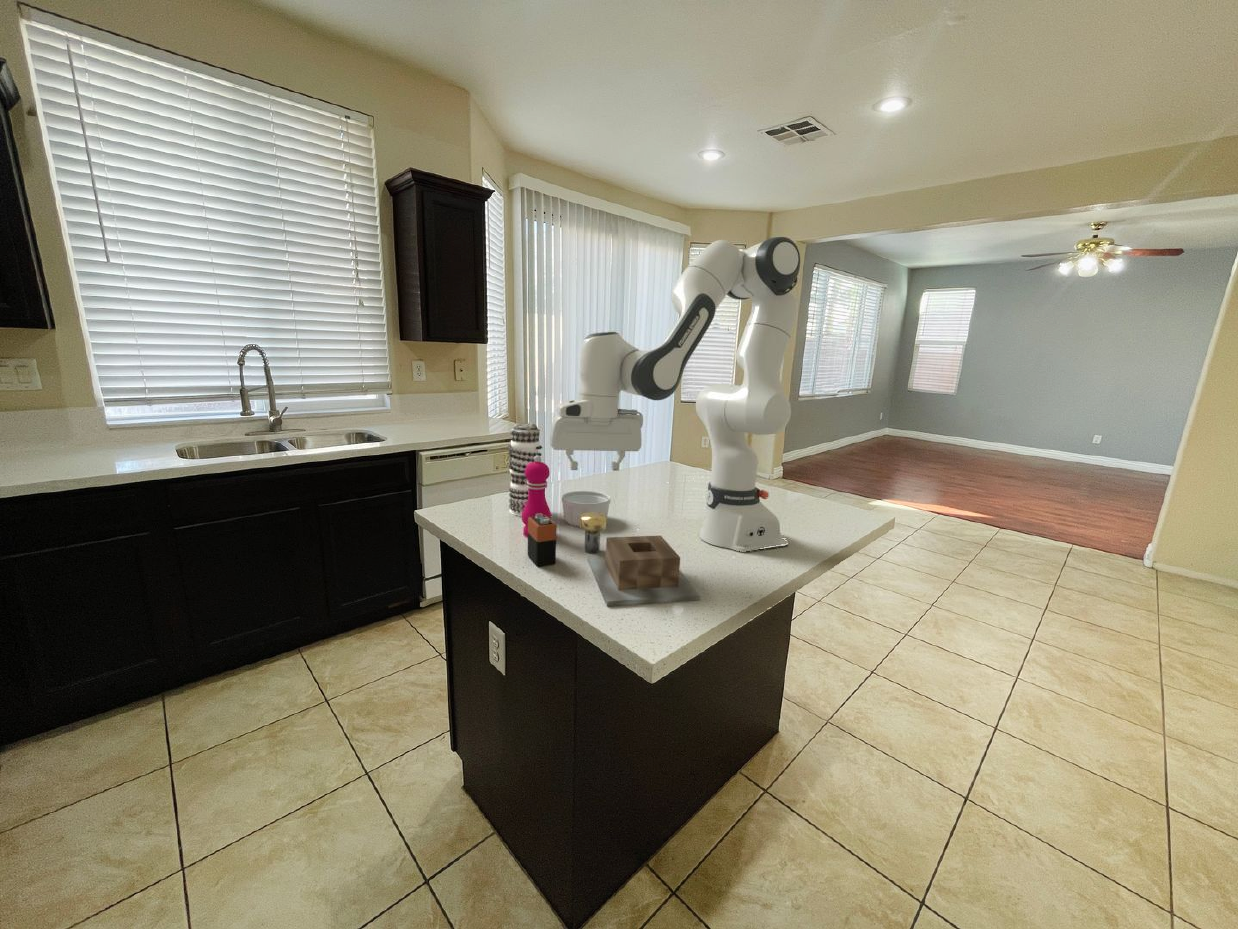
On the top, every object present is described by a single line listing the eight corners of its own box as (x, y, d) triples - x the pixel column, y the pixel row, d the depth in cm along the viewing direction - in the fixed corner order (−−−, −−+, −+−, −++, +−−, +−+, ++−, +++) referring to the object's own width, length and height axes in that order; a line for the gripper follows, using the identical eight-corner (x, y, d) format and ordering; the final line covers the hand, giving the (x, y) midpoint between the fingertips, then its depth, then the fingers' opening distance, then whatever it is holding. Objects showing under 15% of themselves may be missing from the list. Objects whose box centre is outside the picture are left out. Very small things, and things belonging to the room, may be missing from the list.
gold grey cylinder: (602, 545, 117) (603, 512, 115) (607, 555, 111) (609, 520, 109) (577, 546, 115) (578, 512, 113) (581, 556, 110) (582, 521, 108)
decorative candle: (527, 504, 145) (528, 421, 139) (547, 512, 139) (549, 425, 133) (501, 511, 138) (501, 423, 132) (521, 519, 132) (522, 427, 127)
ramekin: (567, 511, 141) (568, 488, 139) (612, 515, 139) (614, 492, 138) (555, 526, 128) (556, 501, 126) (605, 531, 126) (606, 505, 125)
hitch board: (665, 557, 111) (667, 528, 110) (699, 600, 92) (703, 565, 91) (588, 561, 107) (589, 531, 105) (606, 606, 88) (608, 570, 87)
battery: (536, 567, 103) (537, 522, 100) (526, 555, 108) (527, 512, 106) (556, 564, 105) (557, 520, 102) (545, 552, 110) (546, 510, 108)
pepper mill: (544, 540, 118) (546, 459, 113) (516, 537, 119) (517, 456, 115) (554, 530, 124) (556, 454, 120) (527, 527, 126) (528, 451, 122)
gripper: (639, 408, 112) (635, 467, 114) (550, 404, 107) (548, 466, 110) (647, 411, 106) (643, 473, 108) (553, 407, 101) (551, 472, 104)
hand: (594, 469), depth 109 cm, fingers open, 8 cm apart
